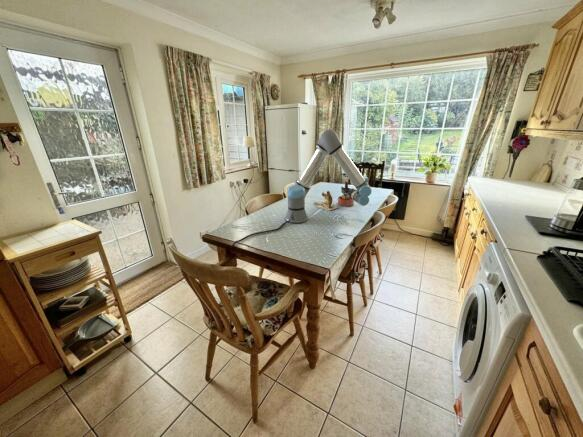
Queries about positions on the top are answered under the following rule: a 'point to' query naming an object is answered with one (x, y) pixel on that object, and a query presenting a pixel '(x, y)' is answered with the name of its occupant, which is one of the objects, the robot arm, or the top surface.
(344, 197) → the dish brush
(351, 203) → the bowl
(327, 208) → the wooden toy
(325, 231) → the top surface
